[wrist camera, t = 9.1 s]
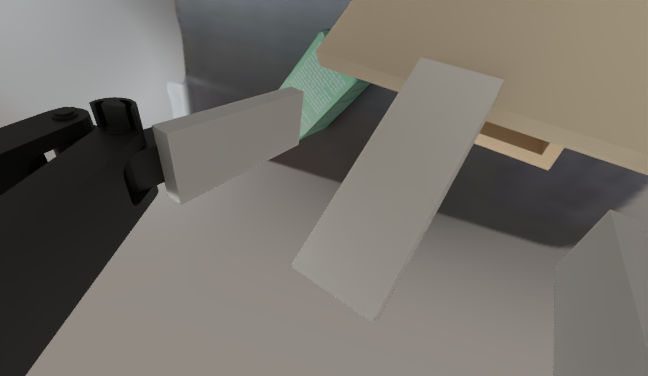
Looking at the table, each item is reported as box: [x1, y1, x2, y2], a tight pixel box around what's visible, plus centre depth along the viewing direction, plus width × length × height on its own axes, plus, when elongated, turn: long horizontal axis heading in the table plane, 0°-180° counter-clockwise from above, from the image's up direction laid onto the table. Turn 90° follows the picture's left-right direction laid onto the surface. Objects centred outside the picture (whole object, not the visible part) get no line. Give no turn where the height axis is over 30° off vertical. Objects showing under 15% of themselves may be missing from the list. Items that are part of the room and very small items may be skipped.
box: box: [279, 29, 371, 140], centre depth 40 cm, size 7×14×8 cm, turn 137°
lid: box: [291, 0, 648, 322], centre depth 12 cm, size 27×14×2 cm
